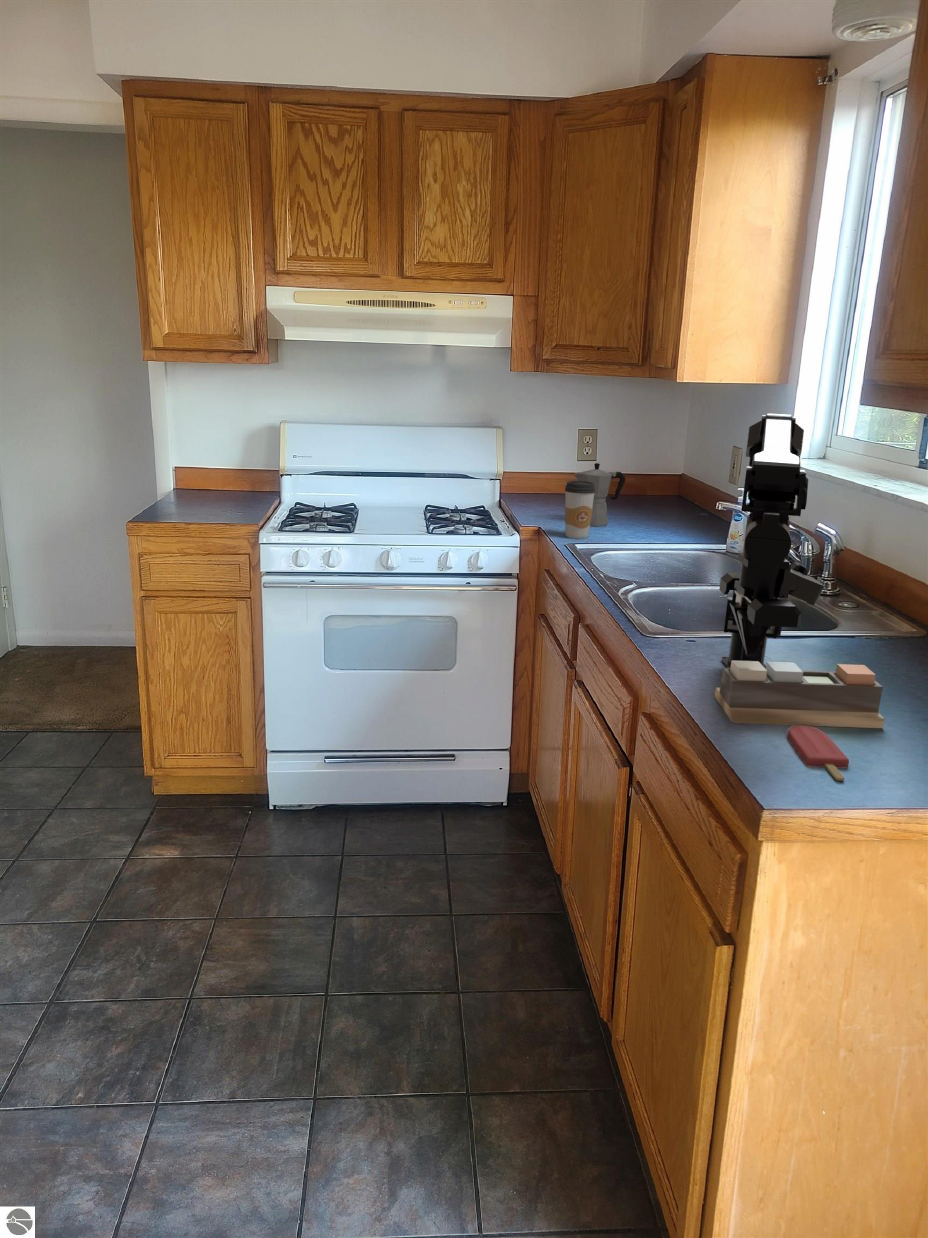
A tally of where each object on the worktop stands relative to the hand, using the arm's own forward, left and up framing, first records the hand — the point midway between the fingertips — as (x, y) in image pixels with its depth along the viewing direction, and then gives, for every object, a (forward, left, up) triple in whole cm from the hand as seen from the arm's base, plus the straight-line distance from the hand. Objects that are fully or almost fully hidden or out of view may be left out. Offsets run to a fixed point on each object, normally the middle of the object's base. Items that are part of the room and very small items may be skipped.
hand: (750, 655), depth 131 cm
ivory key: (0, 0, -5) cm, 5 cm away
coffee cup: (-122, -11, -9) cm, 123 cm away
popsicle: (+15, +6, -9) cm, 18 cm away
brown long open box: (0, +8, -8) cm, 12 cm away
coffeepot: (-142, -3, -9) cm, 142 cm away
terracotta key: (0, +16, -4) cm, 16 cm away
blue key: (0, +5, -5) cm, 7 cm away
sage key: (0, +10, -7) cm, 12 cm away
